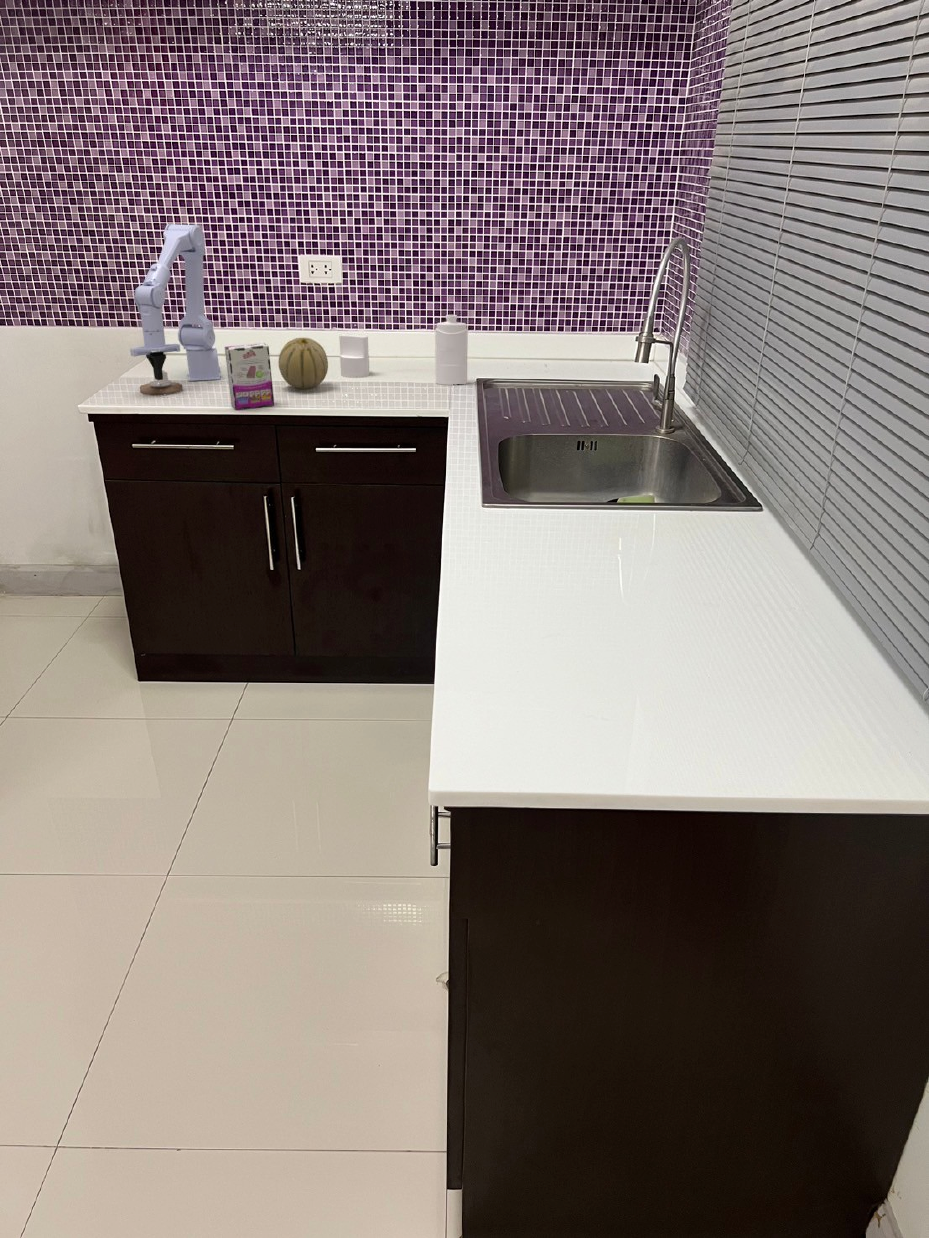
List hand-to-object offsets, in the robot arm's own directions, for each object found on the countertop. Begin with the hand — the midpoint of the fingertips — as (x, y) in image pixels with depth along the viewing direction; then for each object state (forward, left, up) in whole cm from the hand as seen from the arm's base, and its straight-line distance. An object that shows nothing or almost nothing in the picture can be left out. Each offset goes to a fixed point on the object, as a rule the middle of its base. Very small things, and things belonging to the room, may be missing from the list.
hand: (159, 379), depth 268 cm
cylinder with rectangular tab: (-59, -11, -4) cm, 60 cm away
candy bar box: (-24, +22, -4) cm, 33 cm away
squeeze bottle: (-85, +9, -4) cm, 86 cm away
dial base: (0, -4, -4) cm, 6 cm away
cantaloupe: (-41, +4, -4) cm, 42 cm away
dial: (0, -3, -3) cm, 4 cm away
